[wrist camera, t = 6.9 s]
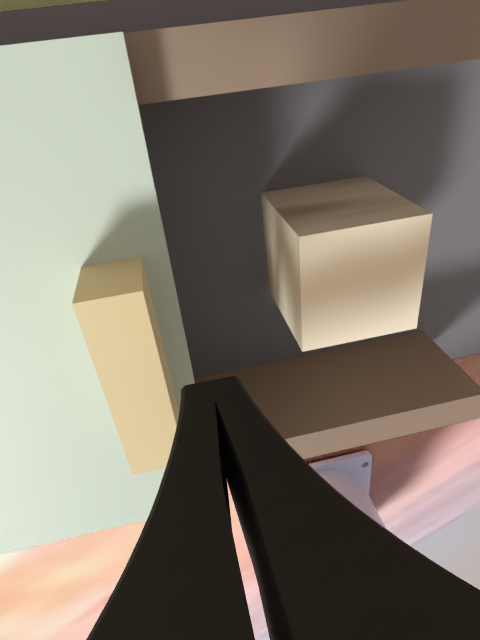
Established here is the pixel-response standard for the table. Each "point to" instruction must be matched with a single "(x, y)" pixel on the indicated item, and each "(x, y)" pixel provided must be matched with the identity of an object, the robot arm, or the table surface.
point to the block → (345, 260)
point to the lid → (81, 297)
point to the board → (300, 170)
